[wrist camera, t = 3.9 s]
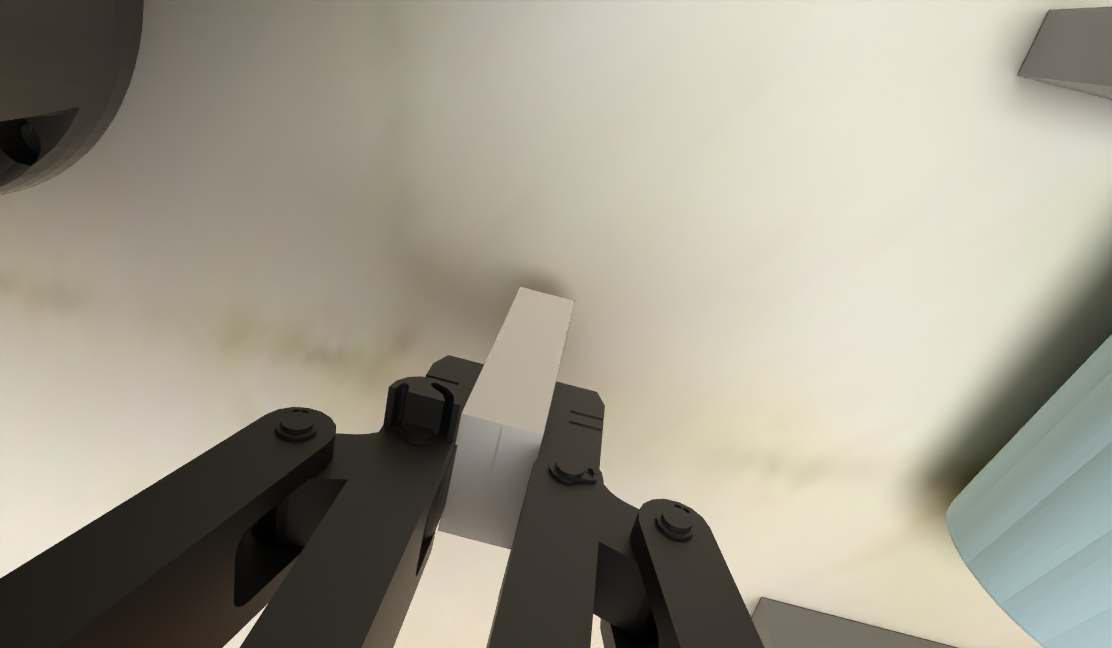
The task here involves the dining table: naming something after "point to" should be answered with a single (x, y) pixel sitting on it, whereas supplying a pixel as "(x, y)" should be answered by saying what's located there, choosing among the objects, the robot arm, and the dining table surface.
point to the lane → (1055, 57)
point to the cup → (1049, 516)
